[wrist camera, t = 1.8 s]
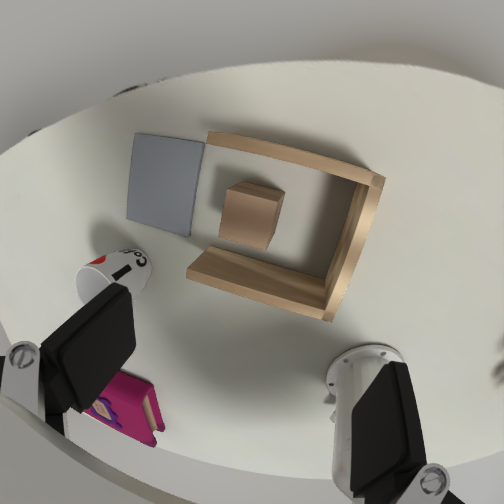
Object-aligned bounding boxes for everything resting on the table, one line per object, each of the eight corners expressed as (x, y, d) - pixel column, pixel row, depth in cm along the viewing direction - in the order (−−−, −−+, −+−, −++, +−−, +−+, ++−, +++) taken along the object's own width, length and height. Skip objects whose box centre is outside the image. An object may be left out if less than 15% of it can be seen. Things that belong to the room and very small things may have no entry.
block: (274, 232, 33) (265, 250, 28) (234, 221, 34) (218, 236, 28) (285, 192, 31) (277, 202, 26) (243, 181, 32) (226, 188, 26)
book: (63, 338, 56) (45, 355, 49) (154, 380, 51) (137, 406, 44) (85, 390, 64) (72, 406, 57) (166, 429, 59) (154, 450, 52)
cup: (164, 251, 38) (121, 283, 29) (157, 296, 41) (120, 333, 32) (119, 231, 38) (73, 256, 29) (116, 275, 42) (76, 305, 33)
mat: (189, 235, 36) (187, 237, 35) (128, 217, 37) (126, 218, 36) (204, 143, 31) (202, 143, 30) (137, 133, 32) (134, 133, 32)
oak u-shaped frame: (330, 290, 34) (331, 322, 28) (209, 254, 36) (185, 277, 30) (371, 170, 28) (386, 177, 21) (231, 133, 30) (208, 131, 23)
